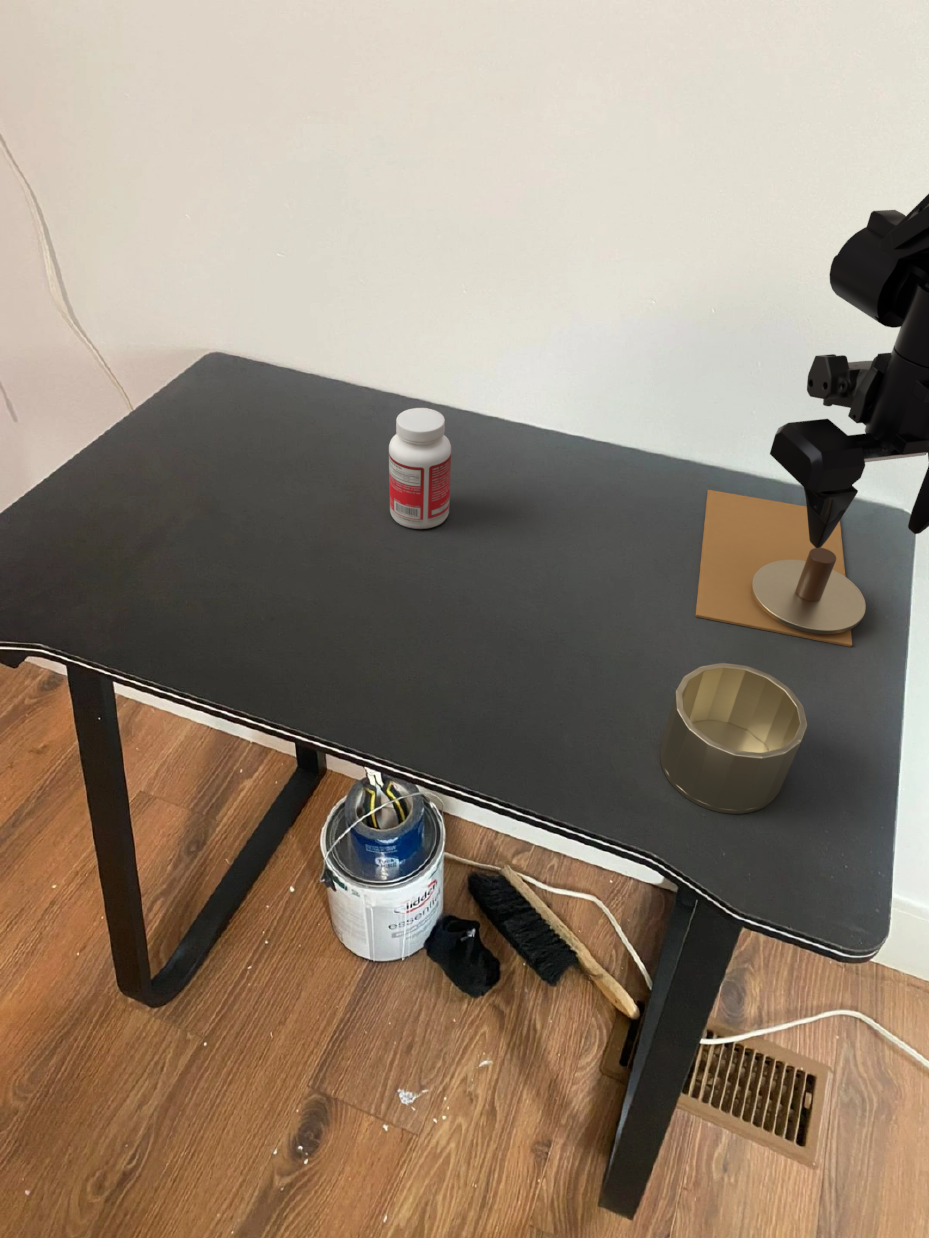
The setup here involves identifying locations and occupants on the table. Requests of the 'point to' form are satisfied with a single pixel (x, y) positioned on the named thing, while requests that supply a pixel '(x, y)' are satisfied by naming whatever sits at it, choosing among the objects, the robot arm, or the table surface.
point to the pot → (731, 737)
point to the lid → (809, 594)
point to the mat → (754, 558)
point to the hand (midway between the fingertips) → (864, 537)
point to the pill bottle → (419, 469)
